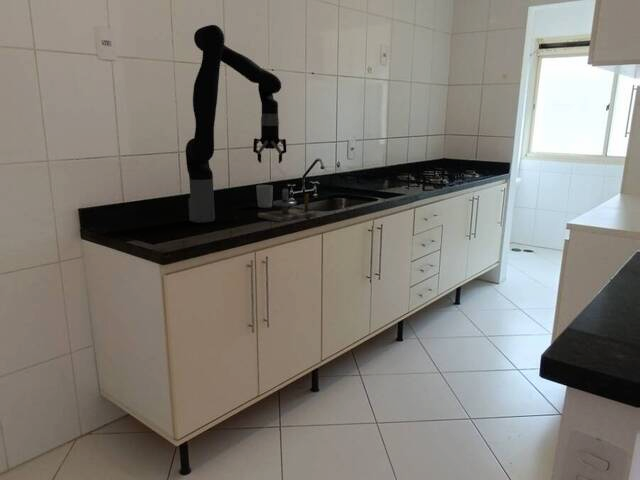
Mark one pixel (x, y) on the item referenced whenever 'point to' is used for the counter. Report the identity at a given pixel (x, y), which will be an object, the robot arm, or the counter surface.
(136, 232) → the counter surface
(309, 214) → the flange base
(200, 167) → the robot arm
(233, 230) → the counter surface
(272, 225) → the counter surface
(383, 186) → the counter surface
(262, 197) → the white cup
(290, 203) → the flange
